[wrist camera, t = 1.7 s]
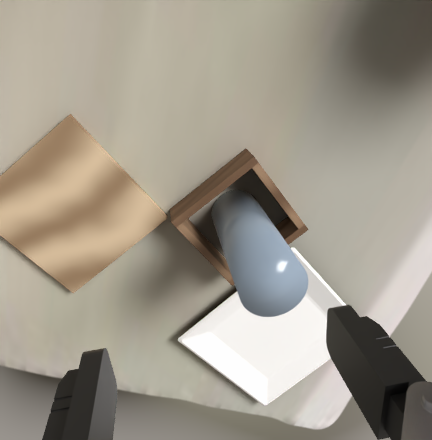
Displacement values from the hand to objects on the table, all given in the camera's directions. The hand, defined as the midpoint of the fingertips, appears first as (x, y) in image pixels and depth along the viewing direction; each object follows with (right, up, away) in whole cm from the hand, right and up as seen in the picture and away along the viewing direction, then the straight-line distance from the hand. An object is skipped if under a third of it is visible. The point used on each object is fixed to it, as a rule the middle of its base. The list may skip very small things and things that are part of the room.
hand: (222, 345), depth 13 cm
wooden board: (-15, +6, +26) cm, 31 cm away
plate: (+7, -10, +37) cm, 39 cm away
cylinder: (+2, +5, +29) cm, 30 cm away
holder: (+2, +5, +29) cm, 30 cm away
